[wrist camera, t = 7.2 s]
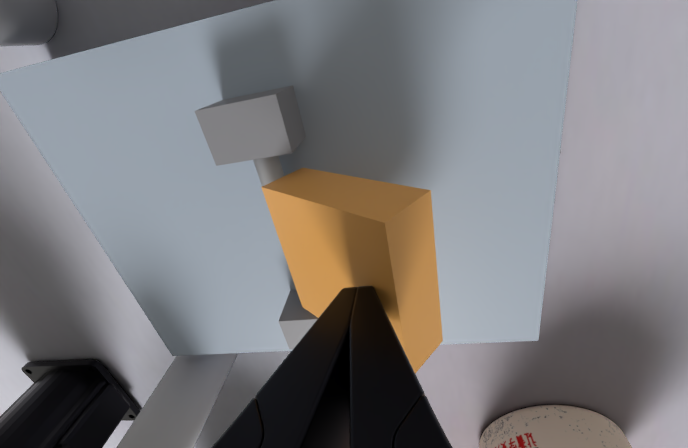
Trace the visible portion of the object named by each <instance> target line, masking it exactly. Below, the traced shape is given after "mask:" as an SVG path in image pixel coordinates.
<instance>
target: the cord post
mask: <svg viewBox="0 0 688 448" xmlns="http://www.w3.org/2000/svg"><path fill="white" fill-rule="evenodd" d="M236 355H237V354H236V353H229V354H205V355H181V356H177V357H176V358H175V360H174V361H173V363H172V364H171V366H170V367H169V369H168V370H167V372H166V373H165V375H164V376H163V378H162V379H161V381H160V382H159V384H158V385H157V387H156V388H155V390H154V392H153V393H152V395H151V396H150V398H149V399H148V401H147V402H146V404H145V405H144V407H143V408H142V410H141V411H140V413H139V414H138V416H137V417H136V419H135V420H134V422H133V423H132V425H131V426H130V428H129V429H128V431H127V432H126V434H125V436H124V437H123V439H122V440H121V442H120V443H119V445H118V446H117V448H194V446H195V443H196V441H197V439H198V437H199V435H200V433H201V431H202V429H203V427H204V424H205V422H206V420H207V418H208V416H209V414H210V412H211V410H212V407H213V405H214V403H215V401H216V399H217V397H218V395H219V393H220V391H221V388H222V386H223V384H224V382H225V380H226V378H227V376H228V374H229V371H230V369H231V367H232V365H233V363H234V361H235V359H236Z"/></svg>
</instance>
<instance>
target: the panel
mask: <svg viewBox="0 0 688 448" xmlns="http://www.w3.org/2000/svg"><path fill="white" fill-rule="evenodd" d="M576 8H577V0H274V1H270V2H266V3H262V4H258V5H255V6H251V7H247V8H243V9H240V10H236V11H232V12H228V13H225V14H221V15H217V16H213V17H210V18H206V19H202V20H198V21H195V22H191V23H187V24H183V25H180V26H176V27H172V28H168V29H165V30H161V31H157V32H153V33H150V34H146V35H142V36H138V37H135V38H131V39H127V40H123V41H120V42H116V43H112V44H108V45H105V46H101V47H97V48H93V49H89V50H86V51H82V52H78V53H74V54H71V55H67V56H63V57H59V58H56V59H52V60H48V61H44V62H41V63H37V64H33V65H29V66H26V67H22V68H18V69H14V70H11V71H7V72H3V73H0V92H1V93H2V95H3V96H4V98H5V99H6V101H7V102H8V104H9V105H10V107H11V108H12V110H13V112H14V113H15V115H16V116H17V118H18V119H19V121H20V122H21V124H22V125H23V127H24V128H25V130H26V131H27V133H28V135H29V136H30V138H31V139H32V141H33V142H34V144H35V145H36V147H37V148H38V150H39V151H40V153H41V155H42V156H43V158H44V159H45V161H46V162H47V164H48V165H49V167H50V168H51V170H52V171H53V173H54V174H55V176H56V178H57V179H58V181H59V182H60V184H61V185H62V187H63V188H64V190H65V191H66V193H67V194H68V196H69V198H70V199H71V201H72V202H73V204H74V205H75V207H76V208H77V210H78V211H79V213H80V214H81V216H82V217H83V219H84V221H85V222H86V224H87V225H88V227H89V228H90V230H91V231H92V233H93V234H94V236H95V237H96V239H97V241H98V242H99V244H100V245H101V247H102V248H103V250H104V251H105V253H106V254H107V256H108V257H109V259H110V261H111V262H112V264H113V265H114V267H115V268H116V270H117V271H118V273H119V274H120V276H121V277H122V279H123V280H124V282H125V284H126V285H127V287H128V288H129V290H130V291H131V293H132V294H133V296H134V297H135V299H136V300H137V302H138V304H139V305H140V307H141V308H142V310H143V311H144V313H145V314H146V316H147V317H148V319H149V320H150V322H151V323H152V325H153V327H154V328H155V330H156V331H157V333H158V334H159V336H160V337H161V339H162V340H163V342H164V343H165V345H166V347H167V348H168V350H169V351H170V353H171V354H172V356H181V355H205V354H229V353H253V352H277V351H292V350H293V349H294V348H295V346H296V345H297V344H298V343H299V341H300V340H301V339H302V338H303V336H304V335H305V334H306V333H307V331H308V330H309V329H310V328H311V327H312V325H313V324H314V323H315V322H316V320H317V319H318V317H316V316H315V315H313V314H312V313H310V312H309V311H307V310H306V309H305V308H303V307H302V305H301V302H300V299H299V296H298V293H297V290H296V287H295V284H294V281H293V278H292V275H291V273H290V270H289V267H288V264H287V261H286V258H285V255H284V252H283V249H282V246H281V243H280V240H279V238H278V235H277V232H276V229H275V226H274V223H273V220H272V217H271V214H270V211H269V208H268V205H267V203H266V200H265V197H264V194H263V191H262V188H261V187H262V186H264V185H267V184H269V183H271V182H273V181H275V180H277V179H279V178H282V177H284V176H286V175H288V174H290V173H292V172H294V171H296V170H299V169H301V168H308V169H314V170H320V171H325V172H331V173H337V174H342V175H348V176H353V177H359V178H365V179H370V180H376V181H382V182H387V183H393V184H399V185H404V186H410V187H416V188H421V189H427V190H431V199H432V212H433V224H434V237H435V249H436V262H437V274H438V287H439V299H440V312H441V324H442V337H443V341H442V342H441V343H440V345H445V344H469V343H493V342H517V341H538V340H539V331H540V322H541V313H542V305H543V296H544V287H545V279H546V270H547V261H548V252H549V244H550V235H551V226H552V217H553V209H554V200H555V191H556V183H557V174H558V165H559V156H560V148H561V139H562V130H563V122H564V113H565V104H566V95H567V87H568V78H569V69H570V61H571V52H572V43H573V34H574V26H575V17H576Z"/></svg>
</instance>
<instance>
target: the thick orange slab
mask: <svg viewBox="0 0 688 448" xmlns="http://www.w3.org/2000/svg"><path fill="white" fill-rule="evenodd" d="M261 188H262V191H263V194H264V197H265V200H266V203H267V205H268V208H269V211H270V214H271V217H272V220H273V223H274V226H275V229H276V232H277V235H278V238H279V240H280V243H281V246H282V249H283V252H284V255H285V258H286V261H287V264H288V267H289V270H290V273H291V275H292V278H293V281H294V284H295V287H296V290H297V293H298V296H299V299H300V302H301V305H302V307H303V308H305V309H306V310H307V311H309V312H310V313H312V314H313V315H315V316H316V317H318V318H319V317H320V315H321V314H322V313H323V312H324V310H325V309H326V308H327V307H328V306H329V304H330V303H331V302H332V301H333V299H334V298H335V297H336V296H337V294H338V293H339V292H340V291H341V290H342V289H343V288H347V287H359V286H373V287H374V288H375V291H376V293H377V295H378V297H379V299H380V301H381V303H382V305H383V307H384V309H385V312H386V314H387V316H388V318H389V320H390V322H391V324H392V326H393V328H394V330H395V333H396V335H397V337H398V339H399V341H400V343H401V345H402V347H403V349H404V351H405V354H406V356H407V358H408V360H409V362H410V364H411V366H412V368H413V370H414V372H415V373H416V372H417V371H418V370H419V368H420V367H421V366H422V365H423V364H424V362H425V361H426V360H427V359H428V358H429V357H430V355H431V354H432V353H433V352H434V351H435V349H436V348H437V347H438V346H439V345H440V343H441V342H442V341H443V337H442V324H441V312H440V299H439V287H438V274H437V262H436V249H435V237H434V224H433V212H432V199H431V190H427V189H421V188H416V187H410V186H404V185H399V184H393V183H387V182H382V181H376V180H370V179H365V178H359V177H353V176H348V175H342V174H337V173H331V172H325V171H320V170H314V169H308V168H301V169H299V170H296V171H294V172H292V173H290V174H288V175H286V176H284V177H282V178H279V179H277V180H275V181H273V182H271V183H269V184H267V185H264V186H262V187H261Z"/></svg>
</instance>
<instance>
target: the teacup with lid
mask: <svg viewBox="0 0 688 448" xmlns="http://www.w3.org/2000/svg"><path fill="white" fill-rule="evenodd" d="M479 448H632V447H631V445H630V443H629V442H628V440H627V438H626V436H625V435H624V433H623V432H622V431H621V429H620V428H619V427H618V426H617V425H616V424H615V423H614V422H612V421H611V420H610V419H608V418H606V417H605V416H603V415H601V414H599V413H596V412H594V411H591V410H587V409H584V408H579V407H573V406H565V405H543V406H534V407H528V408H524V409H520V410H517V411H513V412H511V413H508V414H506V415H504V416H502V417H500V418H498V419H497V420H495V421H494V422H493V423H491V424H490V425H489V426H488V427H487V428H486V429H485V431H484V432H483V434H482V436H481V439H480V444H479Z"/></svg>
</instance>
